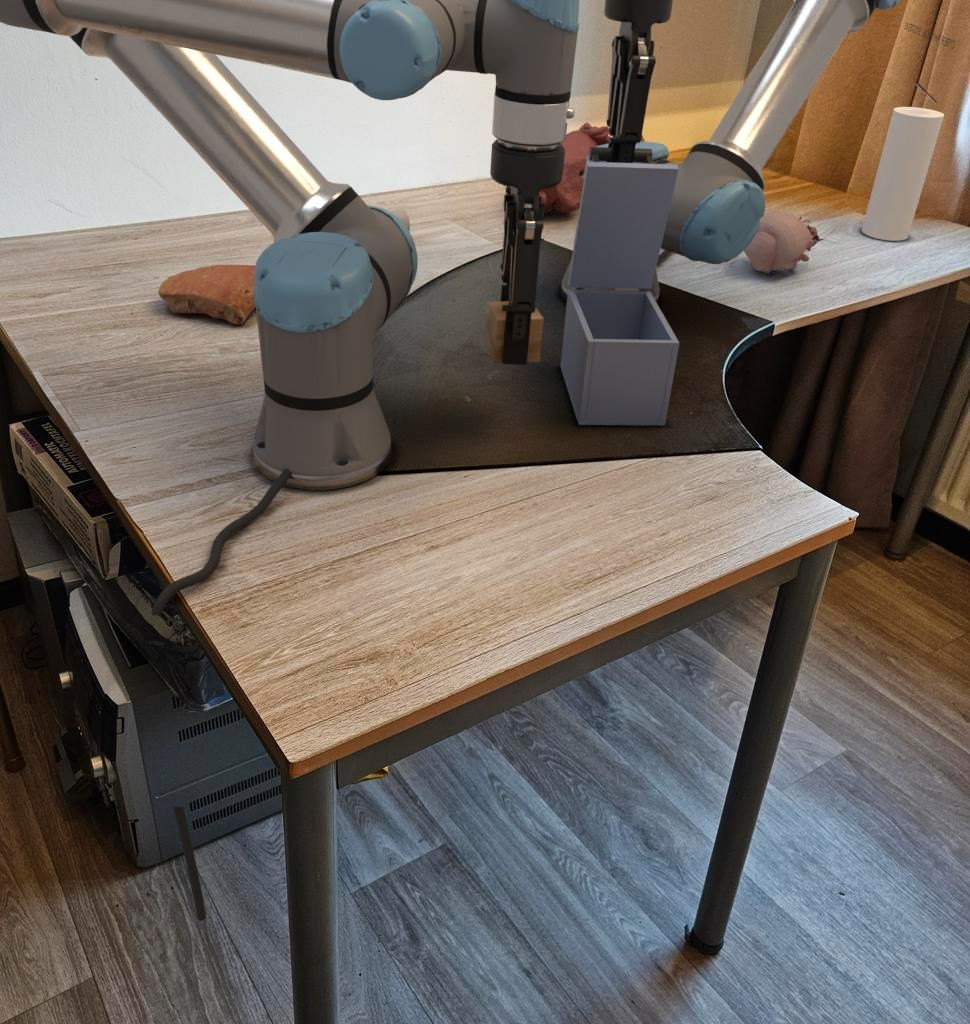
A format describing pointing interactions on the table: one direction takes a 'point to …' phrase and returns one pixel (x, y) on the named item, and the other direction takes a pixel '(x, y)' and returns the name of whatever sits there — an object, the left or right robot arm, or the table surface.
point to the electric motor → (402, 217)
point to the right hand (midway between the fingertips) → (615, 194)
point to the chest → (617, 357)
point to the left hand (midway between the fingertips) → (511, 350)
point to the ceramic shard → (212, 291)
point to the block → (497, 330)
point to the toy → (781, 242)
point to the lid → (621, 221)
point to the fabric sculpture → (574, 168)
